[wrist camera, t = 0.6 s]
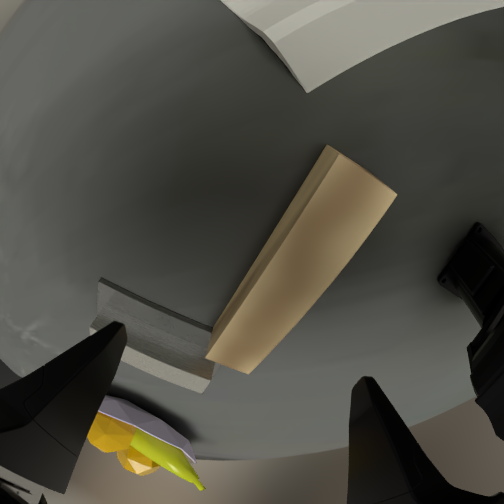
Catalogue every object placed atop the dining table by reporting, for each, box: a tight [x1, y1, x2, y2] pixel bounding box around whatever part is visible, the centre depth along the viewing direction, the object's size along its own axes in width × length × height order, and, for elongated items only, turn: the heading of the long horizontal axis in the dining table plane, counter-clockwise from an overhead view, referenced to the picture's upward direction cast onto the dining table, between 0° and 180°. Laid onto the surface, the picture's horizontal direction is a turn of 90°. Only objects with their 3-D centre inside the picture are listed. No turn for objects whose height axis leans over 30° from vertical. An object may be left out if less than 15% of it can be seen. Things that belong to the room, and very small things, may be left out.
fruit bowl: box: [87, 395, 206, 491], centre depth 35 cm, size 28×27×11 cm
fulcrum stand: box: [90, 278, 221, 394], centre depth 24 cm, size 14×8×4 cm, turn 66°
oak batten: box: [205, 145, 397, 374], centre depth 19 cm, size 4×18×4 cm, turn 153°
